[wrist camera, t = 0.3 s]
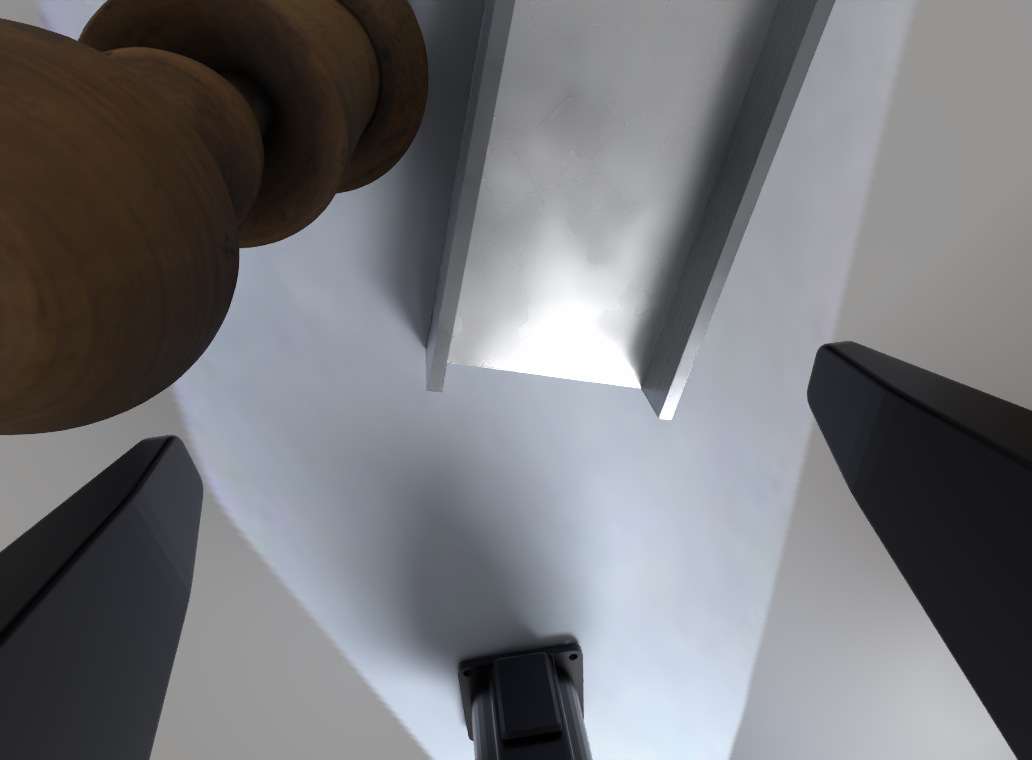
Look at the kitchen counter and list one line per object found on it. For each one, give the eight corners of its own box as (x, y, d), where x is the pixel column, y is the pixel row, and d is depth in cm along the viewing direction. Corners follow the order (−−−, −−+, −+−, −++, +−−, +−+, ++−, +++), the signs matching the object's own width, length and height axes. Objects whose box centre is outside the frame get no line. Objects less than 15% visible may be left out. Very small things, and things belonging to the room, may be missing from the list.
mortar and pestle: (148, 43, 18) (-1263, 238, 3) (308, -130, 17) (-808, -1513, 2) (323, 219, 21) (79, 764, 6) (472, 85, 20) (652, 350, 5)
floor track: (646, 379, 26) (671, 420, 24) (425, 350, 24) (426, 390, 22) (879, -273, 17) (961, -323, 14) (553, -405, 15) (581, -490, 12)
